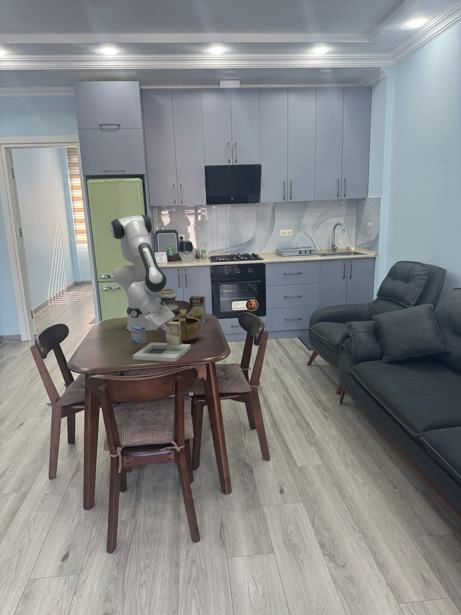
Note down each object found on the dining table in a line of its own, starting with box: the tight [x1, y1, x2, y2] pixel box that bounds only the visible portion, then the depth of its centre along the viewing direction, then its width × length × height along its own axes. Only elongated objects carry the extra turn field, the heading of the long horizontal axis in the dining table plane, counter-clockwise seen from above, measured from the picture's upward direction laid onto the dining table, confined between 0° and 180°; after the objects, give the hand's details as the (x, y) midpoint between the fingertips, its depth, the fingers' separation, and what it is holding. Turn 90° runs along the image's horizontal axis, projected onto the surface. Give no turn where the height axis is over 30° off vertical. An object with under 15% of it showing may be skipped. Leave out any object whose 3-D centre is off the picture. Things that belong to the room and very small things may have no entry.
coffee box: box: [188, 296, 207, 324], centre depth 261 cm, size 9×6×16 cm
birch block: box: [165, 322, 183, 346], centre depth 203 cm, size 4×6×11 cm, turn 74°
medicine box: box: [130, 326, 147, 345], centre depth 226 cm, size 8×4×9 cm, turn 44°
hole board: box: [132, 342, 192, 363], centre depth 207 cm, size 20×22×2 cm
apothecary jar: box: [158, 288, 179, 317], centre depth 281 cm, size 12×12×18 cm
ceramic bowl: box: [172, 308, 201, 343], centre depth 225 cm, size 22×17×15 cm
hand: (172, 330), depth 202 cm, fingers closed on birch block, 4 cm apart
